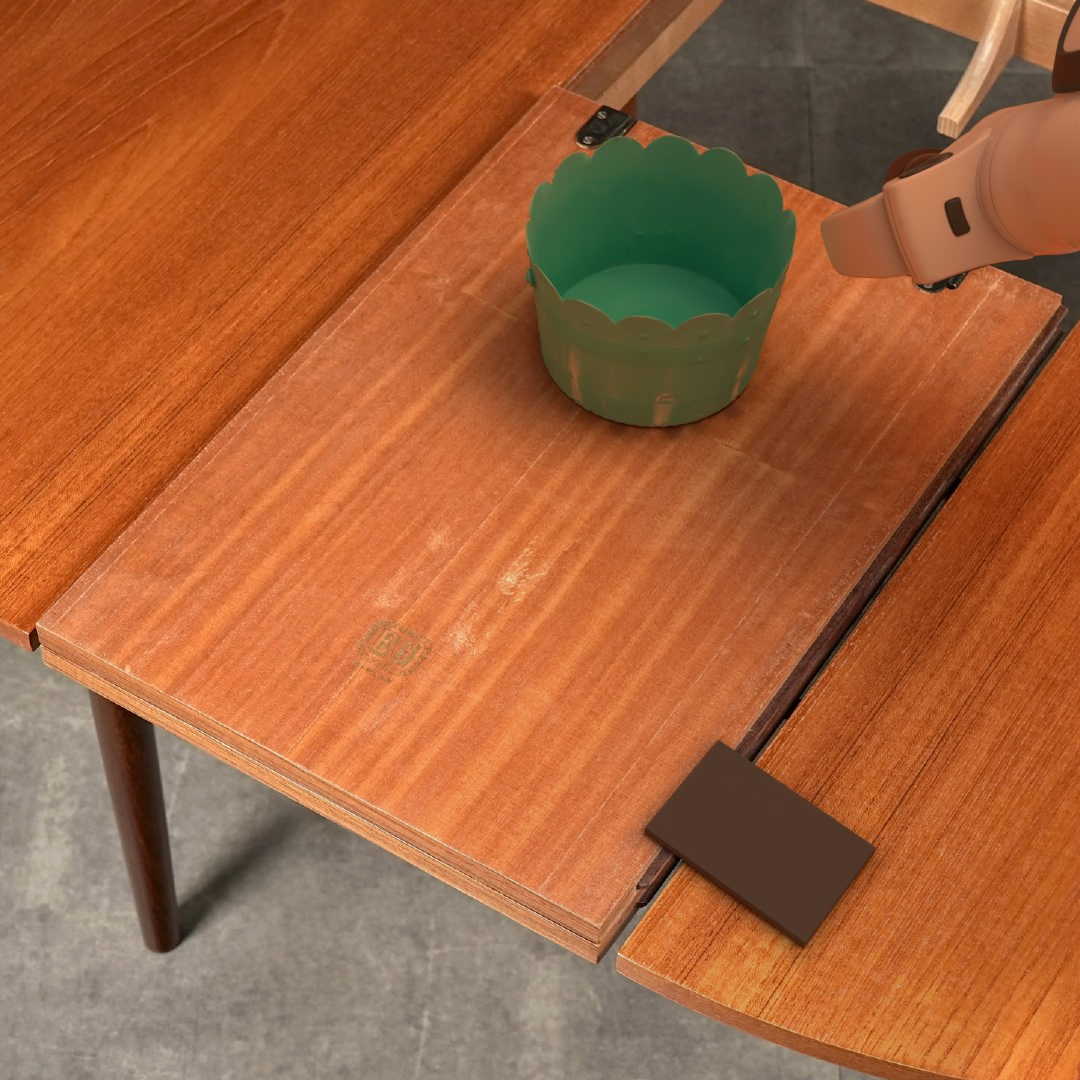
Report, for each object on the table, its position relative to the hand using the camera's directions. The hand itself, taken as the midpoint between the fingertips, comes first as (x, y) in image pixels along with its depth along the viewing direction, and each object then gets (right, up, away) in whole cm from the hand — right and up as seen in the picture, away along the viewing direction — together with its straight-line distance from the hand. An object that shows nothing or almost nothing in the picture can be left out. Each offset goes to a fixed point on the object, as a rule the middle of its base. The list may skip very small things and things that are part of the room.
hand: (922, 193), depth 114 cm
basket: (-17, -8, +16) cm, 25 cm away
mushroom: (+1, -3, +4) cm, 5 cm away
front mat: (-12, -42, -7) cm, 44 cm away
